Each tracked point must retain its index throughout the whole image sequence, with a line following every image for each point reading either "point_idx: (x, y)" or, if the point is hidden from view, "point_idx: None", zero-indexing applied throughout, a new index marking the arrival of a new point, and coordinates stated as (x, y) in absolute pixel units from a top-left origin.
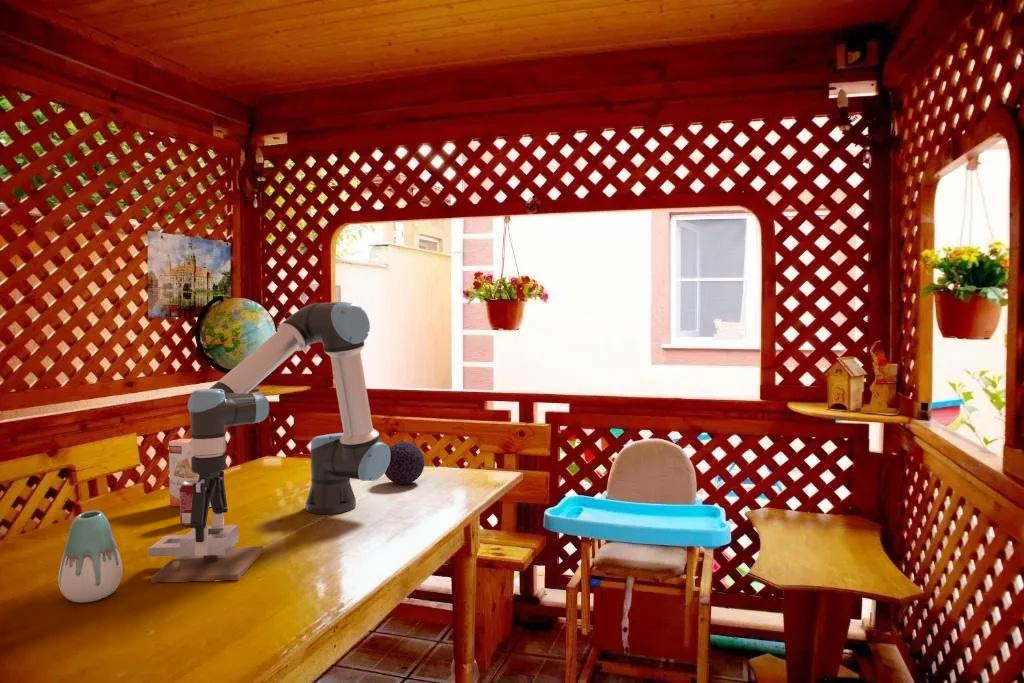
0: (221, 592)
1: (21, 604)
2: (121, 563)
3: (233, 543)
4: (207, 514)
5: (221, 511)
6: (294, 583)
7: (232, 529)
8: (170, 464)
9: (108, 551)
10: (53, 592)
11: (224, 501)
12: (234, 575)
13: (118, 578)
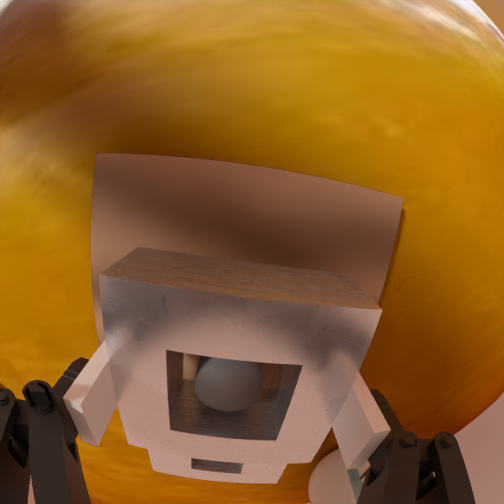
0: (448, 234)
1: None
2: (364, 476)
3: (215, 261)
4: (388, 493)
5: (62, 417)
6: (426, 53)
7: (201, 297)
8: None
9: None
10: (303, 488)
11: (3, 433)
12: (399, 211)
13: None
